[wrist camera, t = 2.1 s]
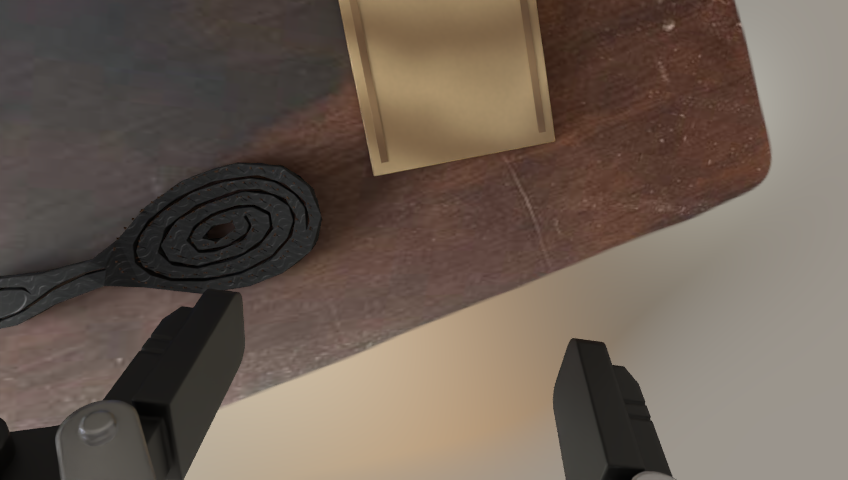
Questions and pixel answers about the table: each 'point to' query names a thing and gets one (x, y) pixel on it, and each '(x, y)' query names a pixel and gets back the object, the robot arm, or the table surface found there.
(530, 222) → the table surface
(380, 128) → the cutting board
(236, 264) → the hairbrush
